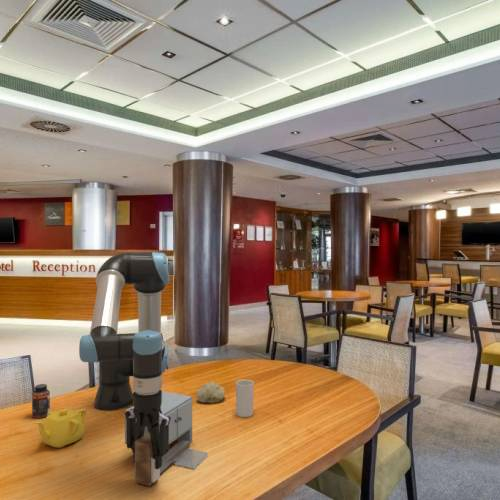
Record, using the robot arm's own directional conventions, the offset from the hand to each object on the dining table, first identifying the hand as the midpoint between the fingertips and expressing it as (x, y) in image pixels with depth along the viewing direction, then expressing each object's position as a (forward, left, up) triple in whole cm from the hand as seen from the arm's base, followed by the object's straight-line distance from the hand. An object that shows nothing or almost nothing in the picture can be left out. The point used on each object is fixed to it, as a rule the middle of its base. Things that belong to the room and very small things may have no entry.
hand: (147, 477), depth 112 cm
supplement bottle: (-64, +19, -2) cm, 66 cm away
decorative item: (-14, +59, -2) cm, 61 cm away
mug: (+3, +53, -2) cm, 53 cm away
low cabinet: (-8, +16, -1) cm, 18 cm away
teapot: (-40, +7, -2) cm, 40 cm away
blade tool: (0, +9, -1) cm, 9 cm away
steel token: (+4, +14, -2) cm, 15 cm away
